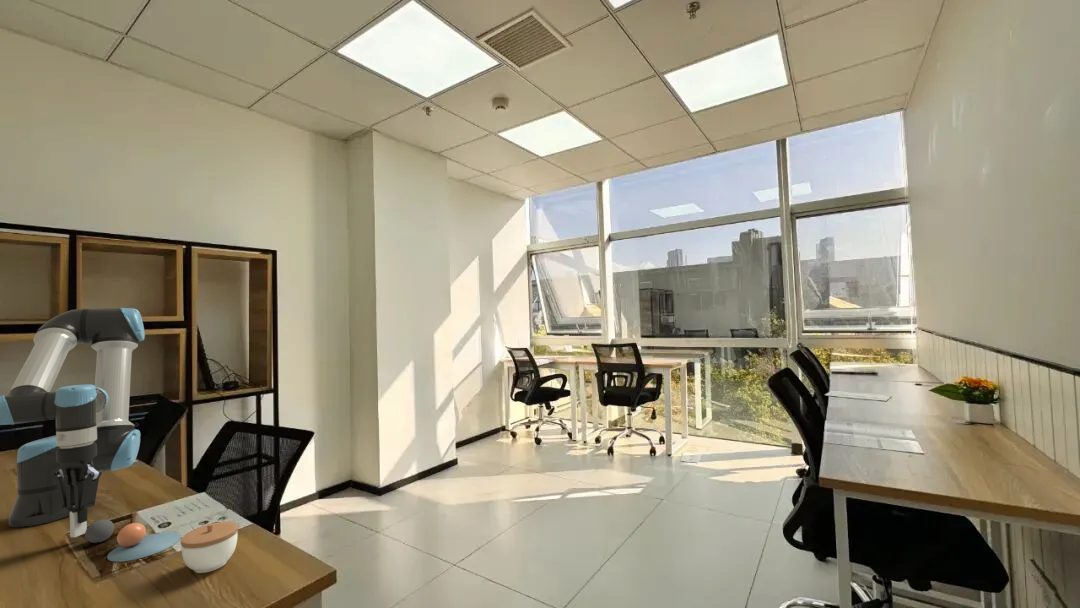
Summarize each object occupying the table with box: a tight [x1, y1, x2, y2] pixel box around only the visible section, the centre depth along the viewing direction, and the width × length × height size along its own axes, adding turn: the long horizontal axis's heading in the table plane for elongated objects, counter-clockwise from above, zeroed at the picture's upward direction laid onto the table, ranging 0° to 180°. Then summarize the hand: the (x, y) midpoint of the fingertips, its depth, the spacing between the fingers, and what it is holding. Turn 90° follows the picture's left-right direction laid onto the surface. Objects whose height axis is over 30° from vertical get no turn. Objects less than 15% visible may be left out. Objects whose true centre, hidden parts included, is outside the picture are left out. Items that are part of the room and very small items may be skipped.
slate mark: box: [106, 531, 182, 563], centre depth 114 cm, size 14×14×1 cm
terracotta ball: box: [116, 522, 147, 547], centre depth 115 cm, size 6×6×6 cm
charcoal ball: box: [84, 519, 115, 544], centre depth 118 cm, size 6×6×6 cm
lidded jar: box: [180, 521, 239, 574], centre depth 104 cm, size 11×11×9 cm
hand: (78, 534), depth 118 cm, fingers closed
